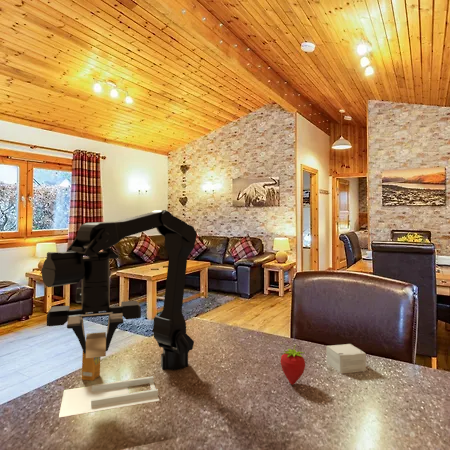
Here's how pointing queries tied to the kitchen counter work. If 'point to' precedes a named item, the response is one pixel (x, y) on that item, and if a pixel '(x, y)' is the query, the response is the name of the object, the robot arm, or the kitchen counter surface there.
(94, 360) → the supplement box
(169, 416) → the kitchen counter surface
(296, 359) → the strawberry
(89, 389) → the trough
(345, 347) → the small box
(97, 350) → the wooden block
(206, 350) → the kitchen counter surface
